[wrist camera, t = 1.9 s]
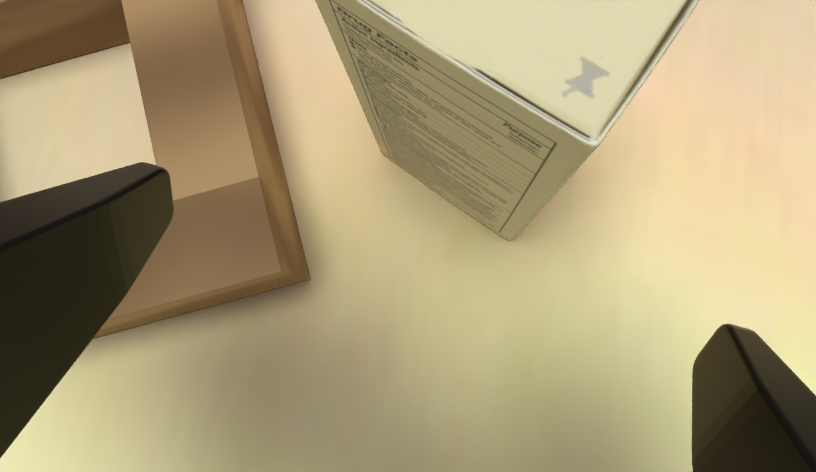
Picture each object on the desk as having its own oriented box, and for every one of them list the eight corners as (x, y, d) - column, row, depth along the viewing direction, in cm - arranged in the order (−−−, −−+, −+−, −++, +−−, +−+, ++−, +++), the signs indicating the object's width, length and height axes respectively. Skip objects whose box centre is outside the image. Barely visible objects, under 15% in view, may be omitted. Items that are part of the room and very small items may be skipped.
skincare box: (575, 151, 21) (761, -62, 9) (507, 248, 21) (607, 161, 9) (436, 60, 22) (438, -248, 10) (369, 152, 22) (284, -50, 9)
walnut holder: (310, 279, 21) (281, 271, 17) (-54, 378, 21) (-167, 394, 17) (227, -58, 23) (184, -135, 19) (-105, 36, 23) (-217, -21, 19)
